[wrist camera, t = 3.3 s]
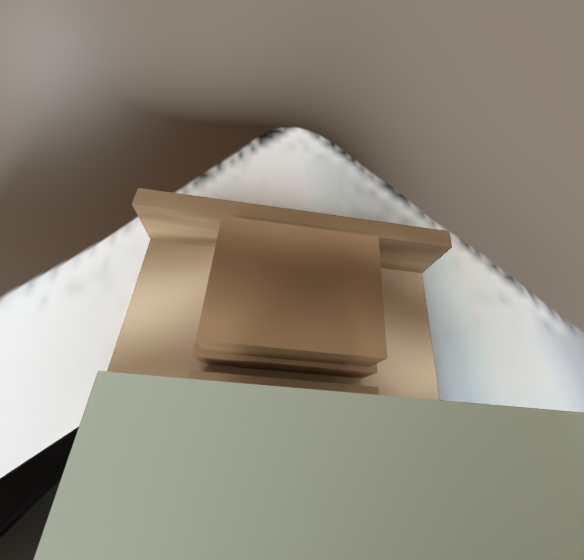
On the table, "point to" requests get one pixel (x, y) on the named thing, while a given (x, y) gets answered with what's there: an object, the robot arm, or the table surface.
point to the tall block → (313, 476)
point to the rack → (194, 278)
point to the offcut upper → (294, 294)
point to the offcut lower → (281, 364)
